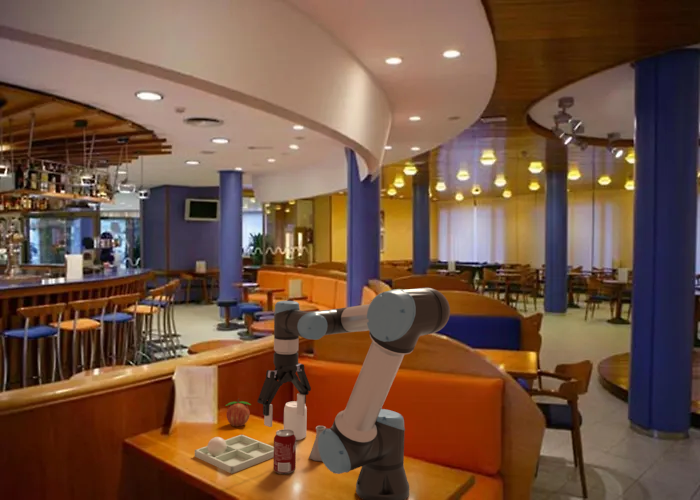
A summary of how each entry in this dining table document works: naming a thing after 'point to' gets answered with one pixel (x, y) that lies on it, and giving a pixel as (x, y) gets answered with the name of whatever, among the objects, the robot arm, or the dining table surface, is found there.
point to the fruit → (238, 413)
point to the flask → (316, 445)
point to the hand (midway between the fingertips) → (284, 420)
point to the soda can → (284, 451)
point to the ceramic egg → (216, 446)
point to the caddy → (238, 454)
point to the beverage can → (295, 420)
